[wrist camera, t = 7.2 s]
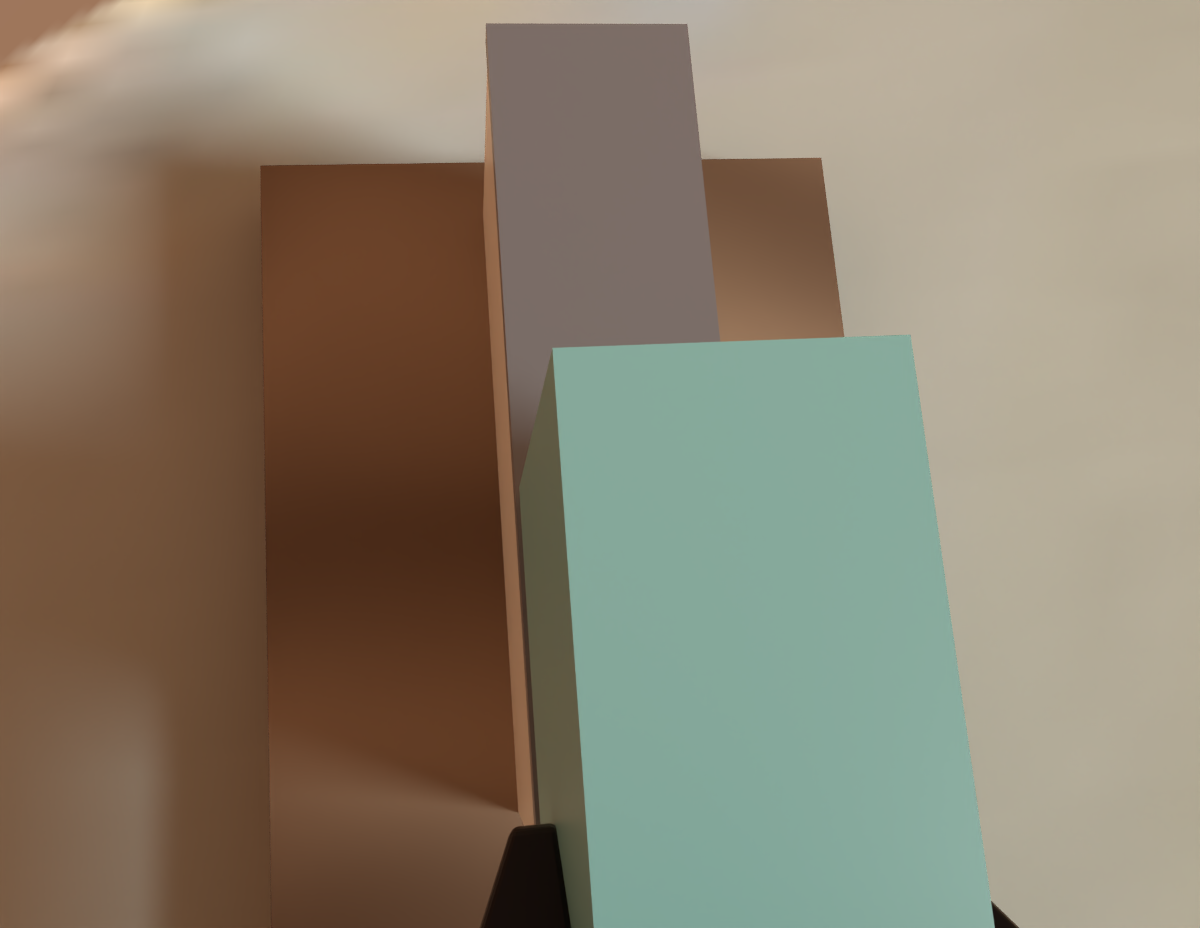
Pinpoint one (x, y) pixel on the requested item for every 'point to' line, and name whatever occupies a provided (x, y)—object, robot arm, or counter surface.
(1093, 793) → the counter surface
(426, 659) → the brown flat block
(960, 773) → the mint green pillar
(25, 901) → the counter surface
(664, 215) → the beige rectangular block
